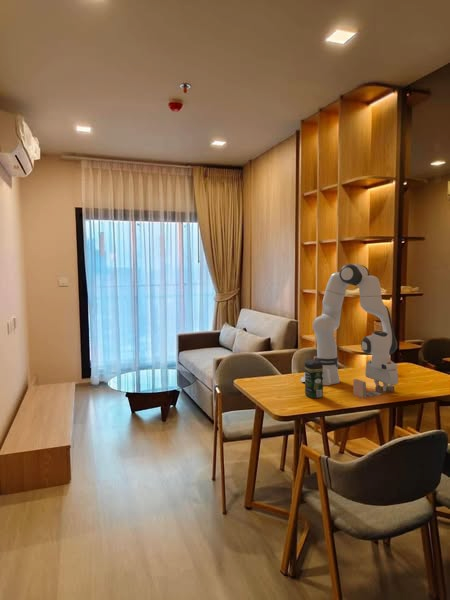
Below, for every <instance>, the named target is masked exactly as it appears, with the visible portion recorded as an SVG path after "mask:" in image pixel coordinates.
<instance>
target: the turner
mask: <svg viewBox="0 0 450 600" xmlns="http://www.w3.org/2000/svg"><path fill="white" fill-rule="evenodd" d="M381 387H383V385H381ZM381 387H376V386H375V387H374V388H375V389H374V390H367V391H366V397H369V398H373V397H378V396H379V397H380V396H382V394H383V395H384V394H388V393H389V394H391V393H395V385H389V384H388V385H387V387H386V391H382V388H381Z"/></svg>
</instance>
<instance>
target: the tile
mask: <svg viewBox="0 0 450 600" xmlns="http://www.w3.org/2000/svg"><path fill="white" fill-rule="evenodd" d="M352 381H353V387H352V388H353V396H356V397H358V398H361V399H363V400H364V399H367V396H366V392H367V382H366V381H363V380H360V379H357V378H355V379H353V380H352Z"/></svg>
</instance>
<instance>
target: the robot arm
mask: <svg viewBox="0 0 450 600" xmlns="http://www.w3.org/2000/svg"><path fill="white" fill-rule="evenodd" d="M350 285H352V286H357V288H358V291H359V304H360V307H361V308H362V310H363V311H364V312H366V313H368V314H371V315H373V316H375V317H378V318H379V320H380V322H381V326H382V330H381V331H380V330H376V331H373V332H372V334H371V335H370V334H369V335H367V336H364V337H363V338H362V339H361V343H360V346H361V347H360V348H361V350H362V352H364V353H365V354H367V355H371V360H370V359H369V360H368V361H367V362H366V365H365V374H364V375H365V377H366V378H367V379H371V380H373V381H374V384H375V387H381V386H383V387H381V388H382V391H386V387H387V385H392V386H395V385H398V384H399V372H398V368H399V365H398V364H396V363H395V362H393V360H391V354H394V352H396V350H397V349H398V341H397V338H396V335H395V332H394V326H393V323H392V317H391V313H390V310H389V308H388V306H387V305H385V304H384V302H383V299H382V289H381V283H380V280H379V278H378V277H377V276H375V275H370V270H369V269H368V268H367V266H365V265H363V264H358V263H348V264H345V265H343V266H342V267H341V268H340V270H339V271H337V272H333V273H332V274H330V277H329V279H328V281H327V284H326V286H325V290H324V294H323V299H322V302H321V303H322V304H321V305H322V309H321V315H319V316H317V317H316V318H315V319H314V320H313V322H312V325H311V326H312V330H313V332H314V336H315V340H316V348H317V349H316V351H317V355H316V356H313V359H314V360H315V361H318V362H320V363H322V365H323V371H322V382H323V386H330V385H336V384H339V383H340V382H341V379H340V375H339V369H338V367H339V358H338V349H337V348H338V345H337V342H336V338H335V331H336V330H337V329H339V327H340V324H341V314H342V308H343V307H342V306H343V303H344V300H345V299H344V298H345V295H346V292H347V289H348V287H349V286H350ZM301 381H302V382H305V373H304V374H303V376H302V377H300V382H301ZM302 382H301V383H302ZM380 382H381V383H382V385H380Z"/></svg>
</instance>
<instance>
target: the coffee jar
mask: <svg viewBox="0 0 450 600" xmlns="http://www.w3.org/2000/svg"><path fill="white" fill-rule="evenodd" d="M322 371H323V365H322V363H320V362H318V361H315V360H314V359H306V360H305V361H304V374H305V383H304V394H305V395H306V396H307V397H308V398H311V399H320V398H323V397H324V385H323V382H322Z"/></svg>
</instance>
